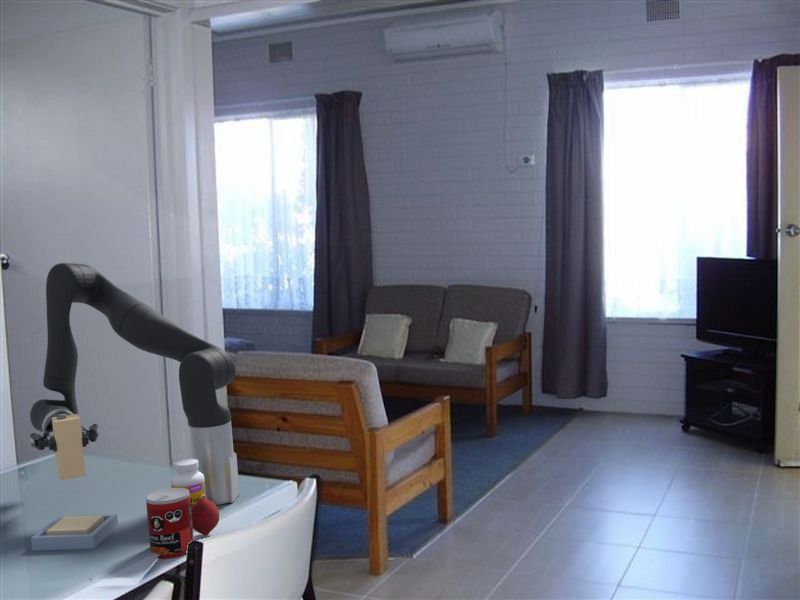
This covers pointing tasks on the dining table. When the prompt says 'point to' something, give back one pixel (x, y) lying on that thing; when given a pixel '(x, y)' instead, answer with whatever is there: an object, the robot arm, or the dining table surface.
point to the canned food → (169, 522)
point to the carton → (68, 446)
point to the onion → (204, 515)
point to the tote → (74, 536)
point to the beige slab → (75, 525)
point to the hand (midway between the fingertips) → (69, 444)
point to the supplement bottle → (189, 479)
